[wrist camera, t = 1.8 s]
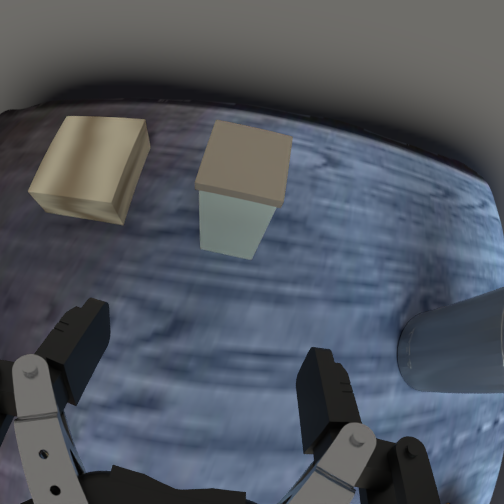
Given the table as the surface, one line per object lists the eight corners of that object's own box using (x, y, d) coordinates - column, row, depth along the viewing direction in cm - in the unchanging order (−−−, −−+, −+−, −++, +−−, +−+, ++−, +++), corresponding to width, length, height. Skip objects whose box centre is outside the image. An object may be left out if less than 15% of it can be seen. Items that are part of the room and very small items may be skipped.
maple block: (150, 148, 32) (145, 119, 28) (124, 226, 29) (111, 203, 24) (79, 142, 31) (67, 116, 27) (47, 213, 28) (28, 191, 23)
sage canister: (262, 213, 31) (292, 136, 20) (253, 262, 29) (283, 202, 18) (210, 201, 31) (216, 119, 19) (197, 250, 29) (194, 182, 17)
